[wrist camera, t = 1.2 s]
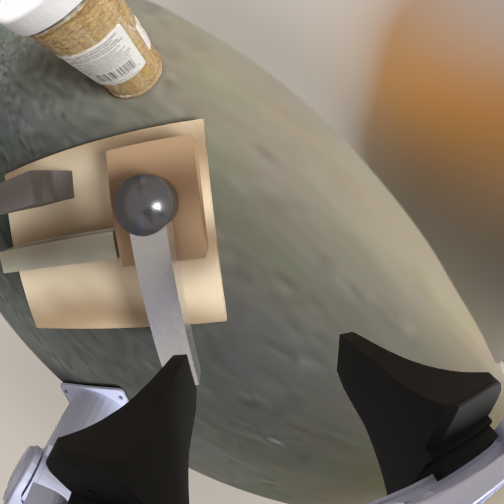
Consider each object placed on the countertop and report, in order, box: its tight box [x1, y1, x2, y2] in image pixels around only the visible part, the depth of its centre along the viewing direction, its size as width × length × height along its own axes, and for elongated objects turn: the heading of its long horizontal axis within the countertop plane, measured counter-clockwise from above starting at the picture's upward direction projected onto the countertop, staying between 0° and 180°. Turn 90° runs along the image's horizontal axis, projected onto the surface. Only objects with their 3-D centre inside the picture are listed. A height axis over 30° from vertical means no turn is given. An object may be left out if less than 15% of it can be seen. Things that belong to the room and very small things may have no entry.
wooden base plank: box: [0, 119, 227, 329], centre depth 15 cm, size 14×18×6 cm
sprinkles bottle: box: [0, 0, 162, 99], centre depth 9 cm, size 5×5×14 cm
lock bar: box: [114, 174, 201, 385], centre depth 14 cm, size 12×3×2 cm, turn 5°
